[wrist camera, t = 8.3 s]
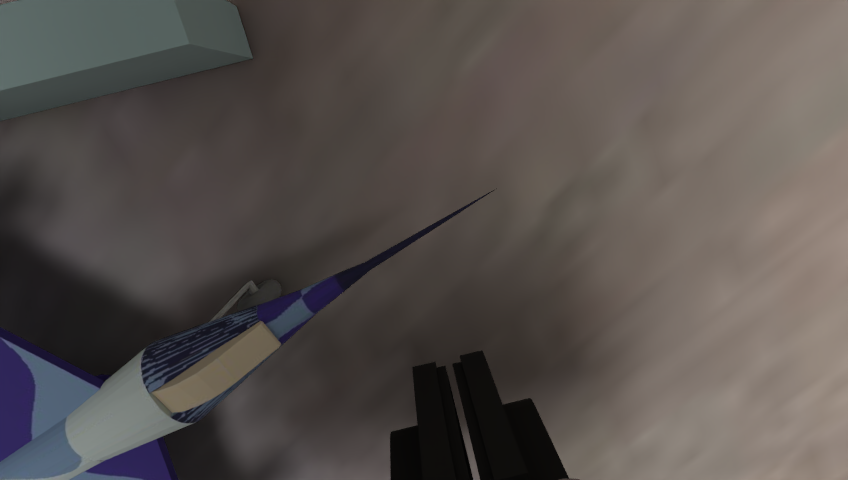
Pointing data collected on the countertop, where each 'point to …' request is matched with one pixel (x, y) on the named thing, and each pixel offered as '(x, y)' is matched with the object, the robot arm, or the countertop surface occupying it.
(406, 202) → the countertop surface
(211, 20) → the green u-shaped frame
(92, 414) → the toy airplane
